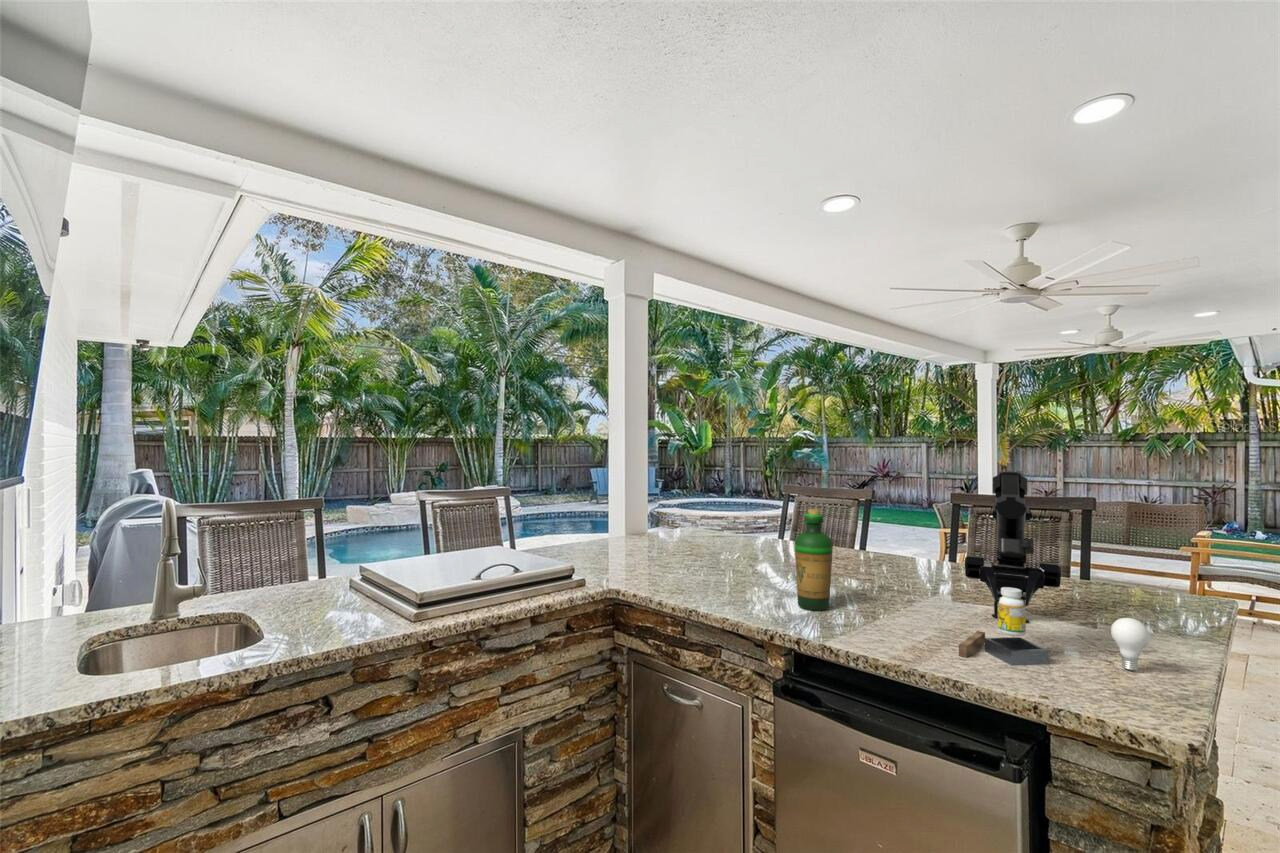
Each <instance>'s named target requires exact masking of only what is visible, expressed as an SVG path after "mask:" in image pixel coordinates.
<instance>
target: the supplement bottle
mask: <svg viewBox="0 0 1280 853" xmlns="http://www.w3.org/2000/svg"><path fill="white" fill-rule="evenodd" d="M1001 595H1002V597H999V598H998V619H997V630H998V631H999V632H1000V633H1002V634H1005V635H1009V636H1015V637H1020V636H1025V634H1026V633H1027V632H1026V631H1027V630H1026V629H1027V628H1026V626H1027V622H1026V619H1027V618H1026V609H1027V606H1026V605H1025V602H1024V600H1022V599H1020V597H1022V591H1021V590H1020V589H1016V588H1010V587H1002V588H1001Z"/></svg>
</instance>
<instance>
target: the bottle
mask: <svg viewBox="0 0 1280 853" xmlns="http://www.w3.org/2000/svg"><path fill="white" fill-rule="evenodd" d="M803 522H804V523H805V528H806V529H805V530H804V531H802V532H800V533H799V534H797V536H796V538H795V539H794V553H795V554H794V555H795V570H796V571H795V574H796V592H797V593H796V595H797V596H796V597H797V605H798V607H800V608H801V609H803V610H807V611H811V612H812V611H813V612H822V611H826V610H827V609H829V608H830V598H831V597H830V595H831V582H832V581H831V580H832V565H833V552H834V550H833V549H834V548H833V547H834V542H833V541H832V539H831V538H830V536H828V534H826V533H825V532H824V531H822V524H823V523H825V522H824V518H823V513H820V509H819V508H808V509H807V513H805V514H804V520H803Z"/></svg>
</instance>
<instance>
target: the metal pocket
mask: <svg viewBox="0 0 1280 853" xmlns="http://www.w3.org/2000/svg"><path fill="white" fill-rule="evenodd" d="M984 652H985V653H988V654H989V655H991V656H993V657H995V658H997V659H999V660H1000V661H1001V662H1002V661H1003V662H1004V663H1006V664H1008V665H1010V666H1034V665H1035V666H1037V665H1049V663H1050V662H1049V658H1050V656H1049V654H1050V652H1049V650H1048V649H1046V648H1044V647H1042V646H1040V645H1038V644H1036V643H1034V642H1031V641H1029V640H1027V639H1024V638H1023V637H1020V636H1015V637H985V643H984Z"/></svg>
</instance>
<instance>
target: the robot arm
mask: <svg viewBox="0 0 1280 853" xmlns="http://www.w3.org/2000/svg"><path fill="white" fill-rule="evenodd" d="M1021 474H1022V473H1021V472H1018V471H1001V472H999V474H997V475H996V476H993V477H992V494H993V495H995V504H994V505H992V520H995V523H996V527H997V528H996V556H995V558H996V563H993V562H992V561H989V560H985V557H984V556H977V555H967V556H965V558H964V572H965V573H964V574H965V577H967V578H968V579H969V578H970V579H976V580H978V579H979V581H980V582H981V583H984V584H986V586H987V588H988V589H989V590H990V593H991V595H992V597H993V599H994V602H993V603H994V604H993V609H994V611H993V613H991V617H993V618H995V619H997V620H998V598H999V597H1002V595H1001V588H1002V587H1010V588H1016V589H1020V590H1021V591H1022V597H1020V599H1022V600H1024V602H1025V606H1026V607H1028V606H1029V605H1030V602H1031V600H1032V598H1033V596H1034V595H1035V593H1036V592H1037V591H1038V590H1039V589H1042V590H1043V589H1044V588H1045V587H1049V588H1056V589H1057V588H1059V587H1060V586H1061V579H1062V567H1061V566H1060V564H1058V563H1053V562H1044V561H1043V562H1041V561H1040V562H1039V565H1038V568H1036V567H1028V566H1027V567H1026V565H1027V555H1034V551H1035V548H1034V547H1035V544H1034V541H1035V540H1034V538H1026V535H1025V528H1026V522H1030V519H1033V512H1032V511H1031V510H1030V508H1029V506H1027V507H1026V500H1025V496H1028V490H1029V489H1028V478H1026V477H1024V475H1021ZM1026 623H1030V619H1027V618H1026Z"/></svg>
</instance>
